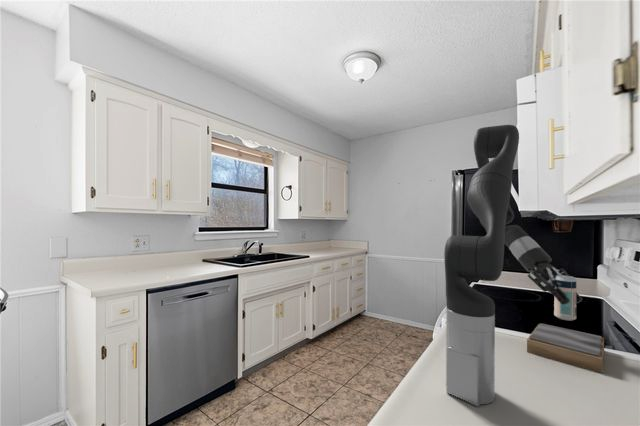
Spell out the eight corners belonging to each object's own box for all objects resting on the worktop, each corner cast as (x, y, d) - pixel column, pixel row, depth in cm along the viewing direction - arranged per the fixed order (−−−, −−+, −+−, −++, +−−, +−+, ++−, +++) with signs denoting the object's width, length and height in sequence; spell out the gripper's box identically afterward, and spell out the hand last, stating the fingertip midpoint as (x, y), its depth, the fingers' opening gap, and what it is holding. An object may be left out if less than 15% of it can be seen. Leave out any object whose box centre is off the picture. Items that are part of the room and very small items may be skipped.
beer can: (567, 315, 83) (567, 274, 83) (580, 321, 78) (581, 278, 79) (550, 315, 84) (550, 274, 84) (562, 320, 79) (562, 277, 79)
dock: (602, 373, 69) (602, 356, 69) (526, 351, 80) (526, 337, 80) (604, 350, 82) (603, 336, 82) (538, 334, 92) (538, 322, 92)
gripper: (521, 246, 86) (566, 297, 75) (553, 246, 91) (601, 293, 79) (504, 261, 91) (545, 311, 79) (536, 260, 96) (578, 306, 84)
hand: (572, 302), depth 79 cm, fingers closed on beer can, 4 cm apart
